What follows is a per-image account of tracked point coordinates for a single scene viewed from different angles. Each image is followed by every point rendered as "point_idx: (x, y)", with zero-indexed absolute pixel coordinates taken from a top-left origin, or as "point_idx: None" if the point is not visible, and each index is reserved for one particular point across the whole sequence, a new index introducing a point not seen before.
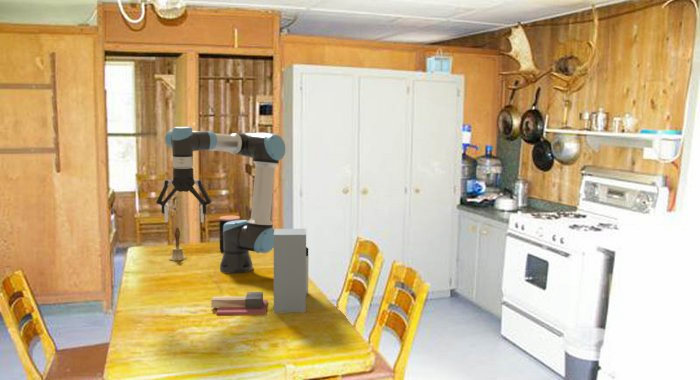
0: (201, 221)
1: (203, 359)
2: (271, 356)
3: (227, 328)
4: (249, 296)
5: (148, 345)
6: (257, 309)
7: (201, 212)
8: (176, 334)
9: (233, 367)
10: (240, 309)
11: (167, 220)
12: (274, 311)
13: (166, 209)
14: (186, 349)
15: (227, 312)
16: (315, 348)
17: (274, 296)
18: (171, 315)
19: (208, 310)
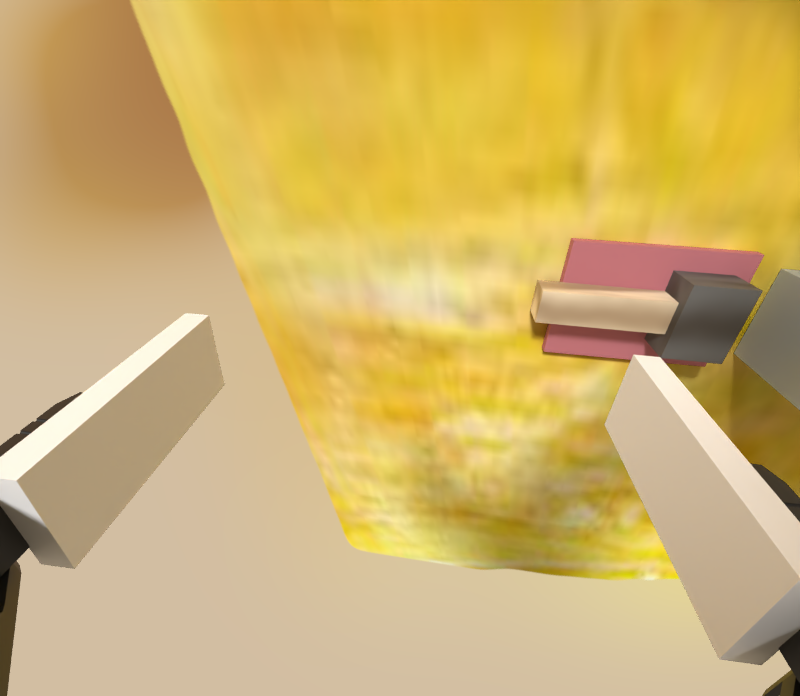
0: (617, 433)
1: (498, 538)
2: (628, 550)
3: (562, 433)
4: (684, 335)
5: (386, 479)
6: None
7: (673, 535)
8: (436, 444)
9: (549, 565)
10: (626, 338)
11: (209, 365)
12: (738, 355)
13: (120, 505)
14: (465, 504)
15: (578, 354)
16: None
17: (775, 386)
18: (405, 333)
19: (518, 307)
